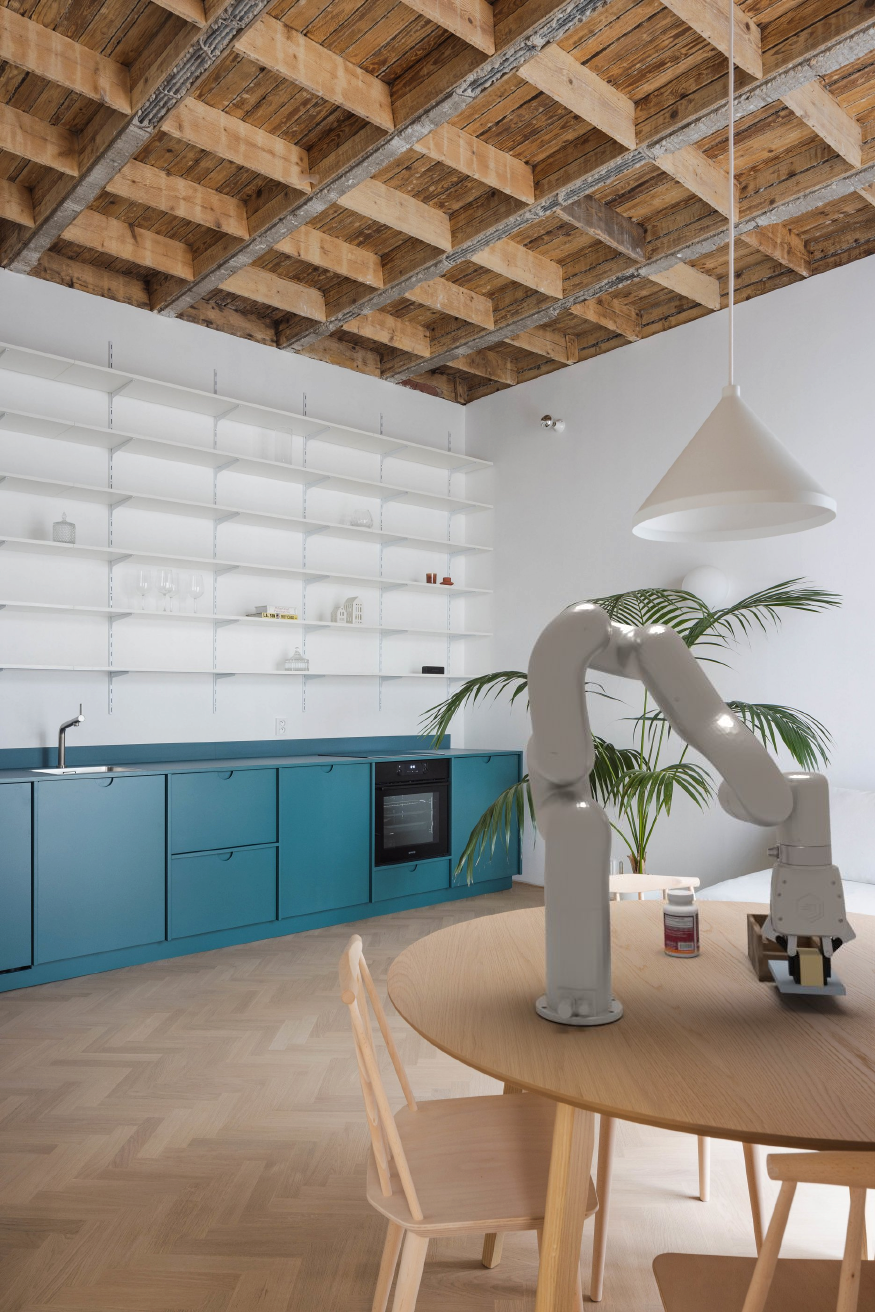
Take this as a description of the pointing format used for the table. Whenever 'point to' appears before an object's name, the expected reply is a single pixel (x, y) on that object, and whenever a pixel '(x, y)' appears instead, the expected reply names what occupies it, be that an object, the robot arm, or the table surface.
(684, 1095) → the table surface
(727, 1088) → the table surface
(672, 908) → the pill bottle
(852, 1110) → the table surface
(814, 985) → the cover plate
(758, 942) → the walnut box
